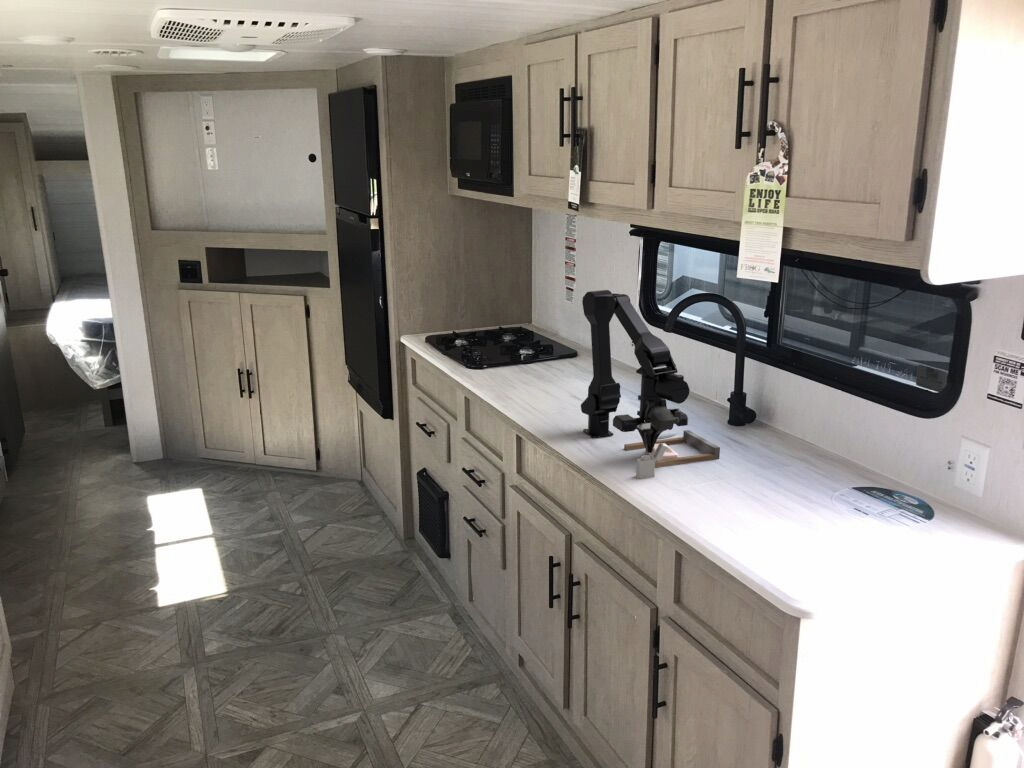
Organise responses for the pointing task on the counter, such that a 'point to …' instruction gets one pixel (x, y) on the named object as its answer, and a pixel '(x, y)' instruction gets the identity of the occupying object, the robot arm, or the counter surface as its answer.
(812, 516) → the counter surface
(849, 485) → the counter surface
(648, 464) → the lighter
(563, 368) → the counter surface
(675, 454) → the soap bar
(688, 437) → the guide channel
